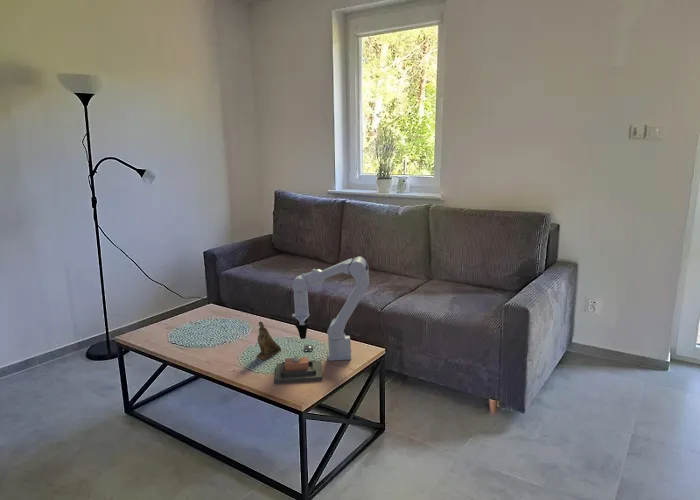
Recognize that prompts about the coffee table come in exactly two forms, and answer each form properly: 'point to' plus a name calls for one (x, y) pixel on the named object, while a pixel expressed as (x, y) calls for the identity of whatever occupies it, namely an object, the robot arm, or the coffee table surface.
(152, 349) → the coffee table surface
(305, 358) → the orange knobbed block
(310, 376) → the stand
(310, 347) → the domed chrome disc
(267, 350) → the brown carved statuette
